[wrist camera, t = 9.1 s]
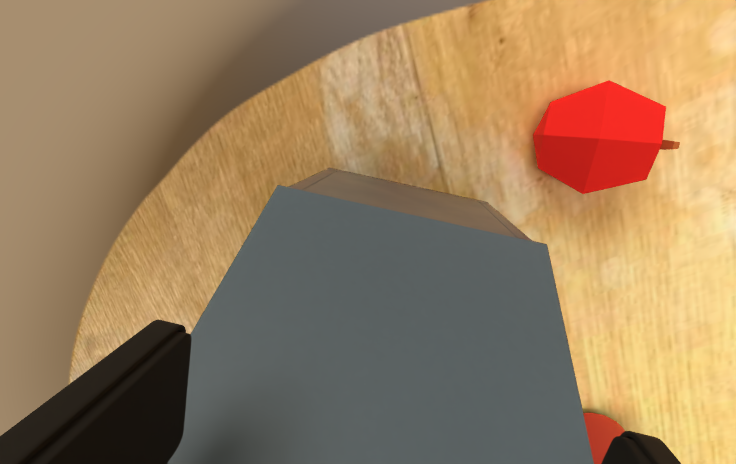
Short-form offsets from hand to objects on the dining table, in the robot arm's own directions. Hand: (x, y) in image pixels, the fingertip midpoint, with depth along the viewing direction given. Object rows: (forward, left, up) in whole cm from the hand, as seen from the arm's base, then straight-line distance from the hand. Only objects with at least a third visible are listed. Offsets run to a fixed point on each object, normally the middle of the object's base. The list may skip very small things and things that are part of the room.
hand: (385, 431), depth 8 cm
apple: (-5, +13, -23) cm, 27 cm away
